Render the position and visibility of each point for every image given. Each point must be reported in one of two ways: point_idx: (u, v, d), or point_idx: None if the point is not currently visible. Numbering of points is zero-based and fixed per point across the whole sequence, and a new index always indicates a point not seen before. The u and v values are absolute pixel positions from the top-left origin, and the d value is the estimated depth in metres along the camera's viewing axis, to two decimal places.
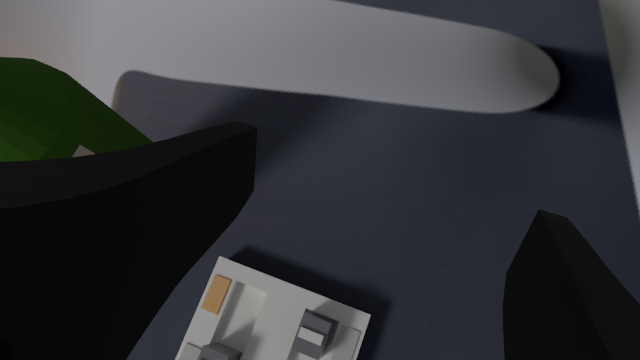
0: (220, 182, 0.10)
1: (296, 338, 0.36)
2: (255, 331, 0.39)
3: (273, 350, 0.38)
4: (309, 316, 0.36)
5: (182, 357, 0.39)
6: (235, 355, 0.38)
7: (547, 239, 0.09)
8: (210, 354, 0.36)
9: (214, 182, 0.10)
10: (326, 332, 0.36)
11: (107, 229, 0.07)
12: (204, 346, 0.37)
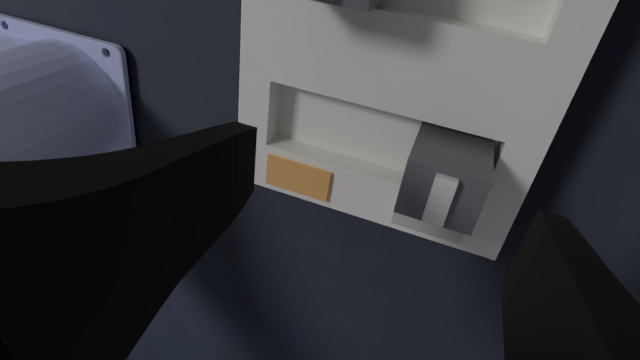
0: (220, 182, 0.10)
1: (431, 169, 0.16)
2: (442, 32, 0.16)
3: (404, 82, 0.17)
4: (484, 194, 0.15)
5: None
6: None
7: (547, 239, 0.09)
8: None
9: (214, 182, 0.10)
10: (451, 227, 0.17)
11: (107, 229, 0.07)
12: None
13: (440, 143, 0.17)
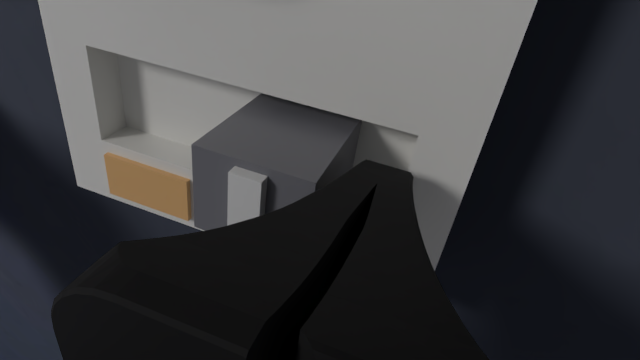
0: None
1: (227, 160, 0.10)
2: None
3: (262, 41, 0.11)
4: None
5: None
6: None
7: (376, 187, 0.09)
8: None
9: (360, 230, 0.09)
10: None
11: (309, 305, 0.06)
12: None
13: (267, 122, 0.11)
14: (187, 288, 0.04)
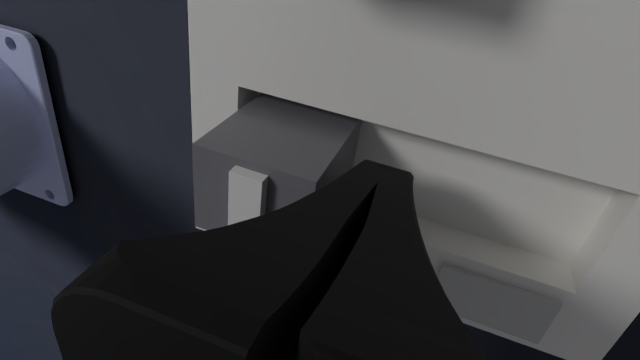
0: (363, 229, 0.10)
1: (227, 160, 0.10)
2: None
3: (463, 90, 0.10)
4: None
5: None
6: None
7: None
8: None
9: (360, 230, 0.09)
10: None
11: (309, 305, 0.06)
12: None
13: (268, 122, 0.11)
14: (187, 288, 0.05)
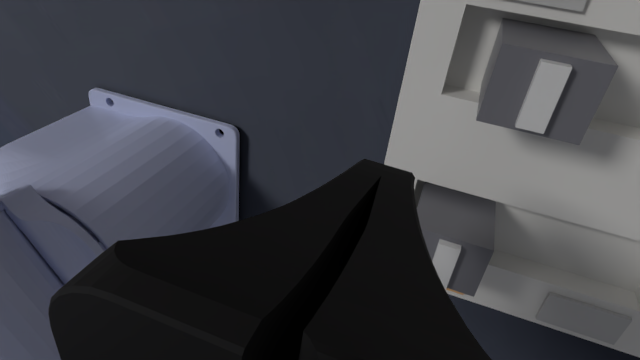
0: (361, 228, 0.10)
1: (434, 235, 0.16)
2: (629, 146, 0.15)
3: (576, 190, 0.16)
4: (486, 260, 0.16)
5: None
6: None
7: (378, 188, 0.09)
8: (586, 93, 0.12)
9: (358, 229, 0.09)
10: (454, 287, 0.17)
11: (306, 303, 0.06)
12: (613, 70, 0.12)
13: (443, 205, 0.18)
14: (184, 286, 0.05)
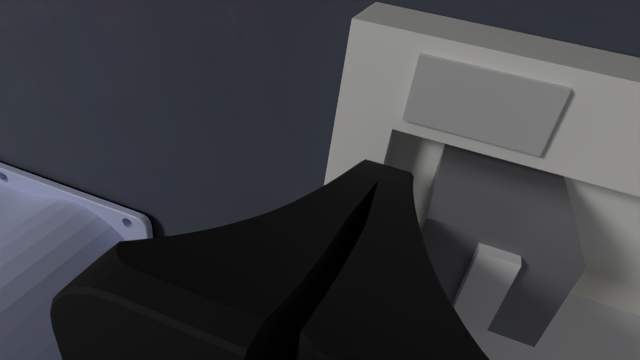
0: (362, 228, 0.10)
1: None
2: (603, 312, 0.12)
3: (536, 350, 0.13)
4: None
5: (507, 86, 0.09)
6: None
7: (376, 187, 0.09)
8: (541, 291, 0.09)
9: (359, 230, 0.09)
10: None
11: (307, 303, 0.06)
12: (578, 270, 0.08)
13: None
14: (186, 287, 0.05)
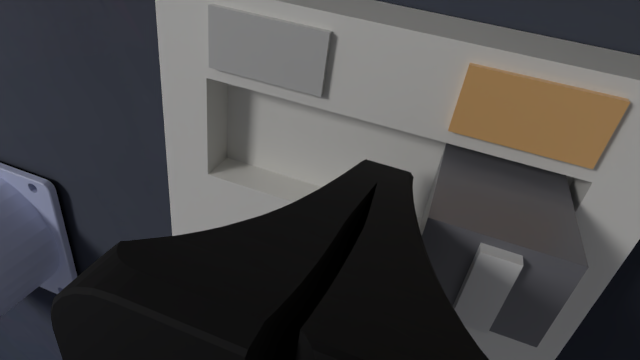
0: (363, 229, 0.10)
1: None
2: None
3: None
4: None
5: (281, 31, 0.11)
6: None
7: None
8: (544, 292, 0.09)
9: (360, 230, 0.09)
10: None
11: (308, 304, 0.06)
12: (581, 270, 0.08)
13: None
14: (187, 287, 0.04)
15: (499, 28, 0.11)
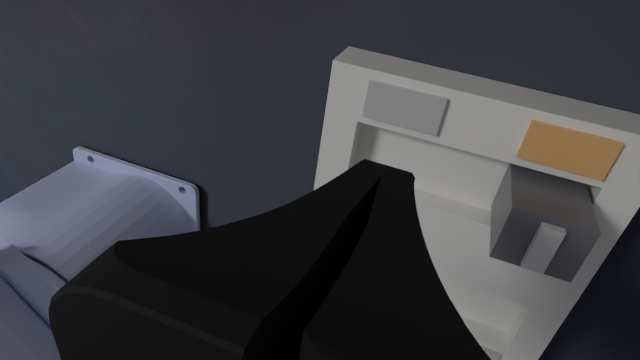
0: (361, 228, 0.10)
1: None
2: (482, 229, 0.20)
3: (449, 257, 0.21)
4: None
5: (415, 97, 0.18)
6: None
7: (378, 187, 0.09)
8: (576, 249, 0.16)
9: (358, 230, 0.09)
10: None
11: (306, 303, 0.06)
12: (597, 236, 0.15)
13: None
14: (184, 286, 0.05)
15: (545, 94, 0.18)
